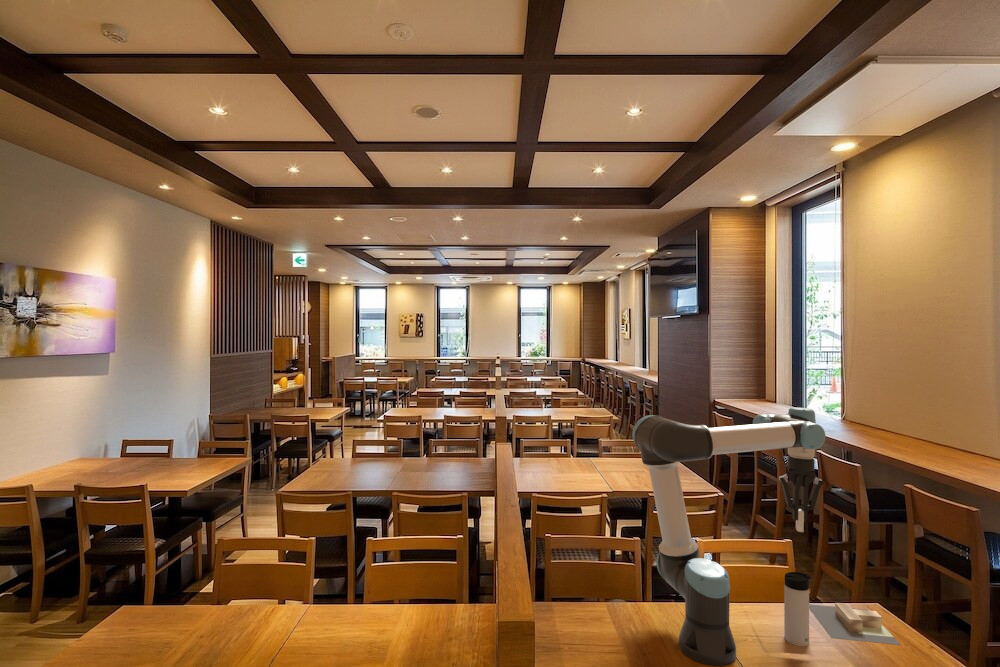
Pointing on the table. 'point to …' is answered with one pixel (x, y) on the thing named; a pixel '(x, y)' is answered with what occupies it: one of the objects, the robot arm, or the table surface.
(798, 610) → the travel mug
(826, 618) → the mat
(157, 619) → the table surface
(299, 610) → the table surface
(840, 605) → the T block
